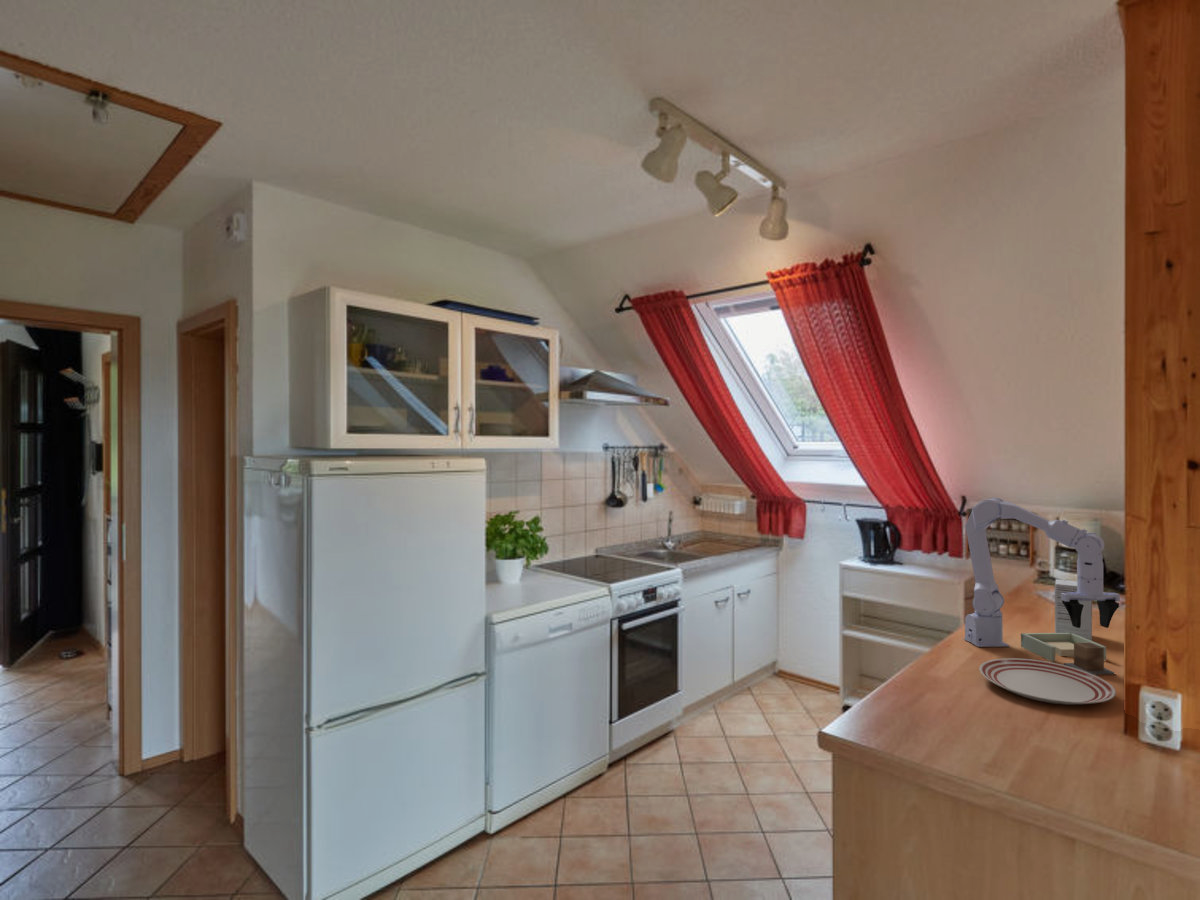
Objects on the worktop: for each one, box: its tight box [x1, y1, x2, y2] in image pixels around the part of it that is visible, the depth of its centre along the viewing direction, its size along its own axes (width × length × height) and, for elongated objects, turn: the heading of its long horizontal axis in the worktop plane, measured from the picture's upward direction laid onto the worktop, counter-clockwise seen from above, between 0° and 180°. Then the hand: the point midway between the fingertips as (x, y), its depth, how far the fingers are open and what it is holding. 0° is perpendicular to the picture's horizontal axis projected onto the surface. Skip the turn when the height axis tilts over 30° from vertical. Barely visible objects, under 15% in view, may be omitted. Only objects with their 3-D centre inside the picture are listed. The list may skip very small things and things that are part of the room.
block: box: [1073, 643, 1105, 671], centre depth 168 cm, size 4×4×6 cm
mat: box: [1063, 662, 1115, 676], centre depth 168 cm, size 8×8×1 cm
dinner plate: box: [979, 657, 1117, 705], centre depth 155 cm, size 28×27×3 cm
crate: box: [1020, 632, 1107, 663], centre depth 181 cm, size 15×13×4 cm
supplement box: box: [1054, 578, 1093, 641], centre depth 197 cm, size 10×9×17 cm
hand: (1090, 626), depth 173 cm, fingers open, 7 cm apart
